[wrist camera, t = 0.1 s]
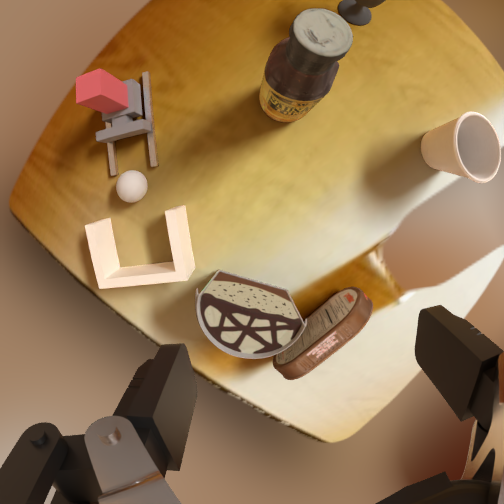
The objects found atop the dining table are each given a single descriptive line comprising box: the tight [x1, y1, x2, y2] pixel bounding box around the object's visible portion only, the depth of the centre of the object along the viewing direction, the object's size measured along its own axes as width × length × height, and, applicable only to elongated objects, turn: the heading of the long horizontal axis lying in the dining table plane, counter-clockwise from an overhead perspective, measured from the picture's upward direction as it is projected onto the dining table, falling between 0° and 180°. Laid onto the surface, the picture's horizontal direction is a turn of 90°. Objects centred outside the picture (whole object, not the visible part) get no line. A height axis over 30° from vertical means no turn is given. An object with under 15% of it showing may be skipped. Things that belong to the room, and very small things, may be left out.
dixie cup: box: [421, 112, 501, 183], centre depth 30 cm, size 8×8×10 cm
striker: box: [76, 68, 151, 143], centre depth 28 cm, size 7×6×10 cm
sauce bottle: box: [259, 9, 353, 123], centre depth 24 cm, size 6×6×20 cm
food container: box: [195, 270, 307, 359], centre depth 35 cm, size 12×6×10 cm, turn 73°
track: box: [106, 71, 159, 176], centre depth 34 cm, size 13×7×1 cm, turn 7°
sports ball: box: [116, 170, 148, 202], centre depth 35 cm, size 4×4×4 cm
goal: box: [85, 205, 195, 289], centre depth 36 cm, size 8×12×5 cm
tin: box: [273, 287, 373, 380], centre depth 37 cm, size 15×3×8 cm, turn 134°
